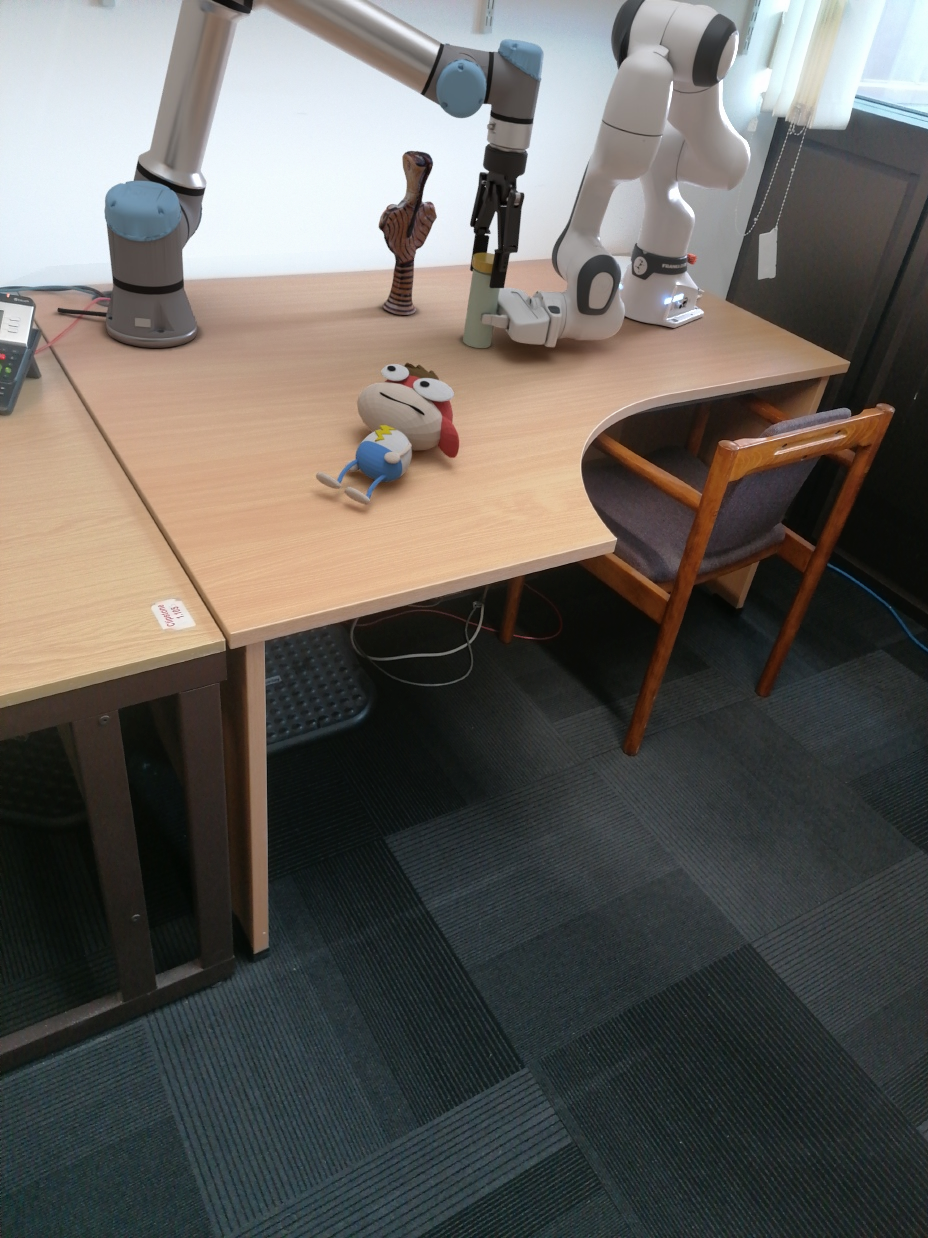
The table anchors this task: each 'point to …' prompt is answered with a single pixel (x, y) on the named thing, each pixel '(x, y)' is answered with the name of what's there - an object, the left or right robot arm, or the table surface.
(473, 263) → the lid
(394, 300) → the figurine
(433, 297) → the table surface
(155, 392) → the table surface
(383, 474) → the toy
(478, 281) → the jar
